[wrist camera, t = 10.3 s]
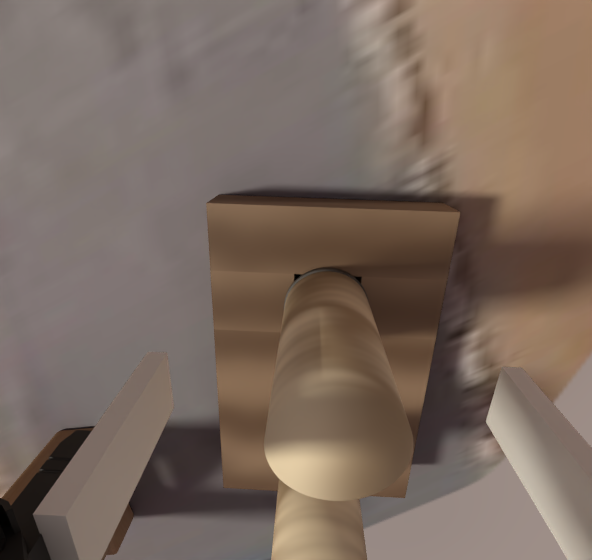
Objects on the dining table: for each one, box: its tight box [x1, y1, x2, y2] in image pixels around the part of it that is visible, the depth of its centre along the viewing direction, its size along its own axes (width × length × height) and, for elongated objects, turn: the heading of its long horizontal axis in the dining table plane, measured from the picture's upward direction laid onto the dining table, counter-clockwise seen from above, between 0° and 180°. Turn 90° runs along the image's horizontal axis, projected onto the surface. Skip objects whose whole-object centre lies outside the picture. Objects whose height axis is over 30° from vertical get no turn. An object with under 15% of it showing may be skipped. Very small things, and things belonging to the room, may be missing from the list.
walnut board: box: [206, 195, 460, 560], centre depth 21 cm, size 22×14×14 cm, turn 178°
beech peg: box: [264, 267, 414, 501], centre depth 19 cm, size 5×5×14 cm
